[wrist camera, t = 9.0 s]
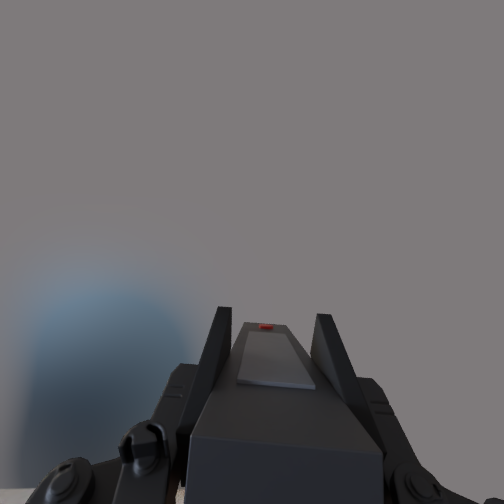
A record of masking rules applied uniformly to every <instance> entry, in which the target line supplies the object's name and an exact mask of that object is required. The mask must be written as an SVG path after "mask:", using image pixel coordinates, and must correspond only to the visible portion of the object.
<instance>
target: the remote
mask: <svg viewBox="0 0 504 504" xmlns="http://www.w3.org/2000/svg"><path fill="white" fill-rule="evenodd" d="M184 504H384V467H383V453H382V451H381V450H380V449H379V447H378V446H377V445H376V443H375V442H374V441H373V439H372V438H371V437H370V435H369V434H368V433H367V432H366V430H365V429H364V428H363V426H362V425H361V424H360V422H359V421H358V420H357V418H356V417H355V416H354V414H353V413H352V412H351V410H350V409H349V408H348V406H347V405H346V404H345V403H344V401H343V400H342V399H341V397H340V396H339V395H338V393H337V392H336V391H335V389H334V388H333V387H332V385H331V384H330V383H329V381H328V380H327V379H326V377H325V376H324V375H323V373H322V372H321V371H320V369H319V368H318V367H317V366H316V364H315V363H314V362H313V360H312V359H311V358H310V356H309V355H308V354H307V352H306V351H305V350H304V348H303V347H302V346H301V344H300V343H299V342H298V340H297V339H296V338H295V336H294V335H293V334H292V333H291V331H290V330H289V329H288V327H287V326H286V325H275V324H262V323H249V322H244V324H243V327H242V328H241V331H240V333H239V335H238V337H237V339H236V341H235V343H234V345H233V347H232V349H231V352H230V354H229V356H228V358H227V360H226V362H225V364H224V366H223V368H222V371H221V373H220V375H219V377H218V379H217V381H216V383H215V385H214V388H213V390H212V392H211V394H210V396H209V398H208V400H207V402H206V404H205V406H204V408H203V411H202V413H201V415H200V417H199V419H198V421H197V423H196V425H195V427H194V430H193V432H192V434H191V436H190V445H189V455H188V465H187V476H186V486H185V496H184Z"/></svg>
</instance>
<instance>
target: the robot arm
mask: <svg viewBox="0 0 504 504" xmlns="http://www.w3.org/2000/svg"><path fill="white" fill-rule="evenodd" d="M231 325H232V308H231V307H219V306H218V308H217V311H216V314H215V317H214V320H213V323H212V326H211V329H210V332H209V335H208V338H207V341H206V344H205V347H204V350H203V353H202V355H201V359H200V361H199V364H198V365H194V364H182V363H181V364H179V366H178V367H177V368H176V369H175V370H174V371H173V372H172V373H171V375H170V377H169V379H168V382H167V384H166V387H165V388H164V390H163V393H162V396H161V397H160V399H159V402H158V404H157V406H156V408H155V411H154V413H153V415H152V417H151V419H150V420H146V421H143V422H140V423H138V424H137V425H135V426H133V427H132V428H130V429H129V431H128V432H127V433H126V434H125V435H124V436H123V438H122V440H121V442H120V444H119V446H118V449H119V453H120V457H118V458H116V459H112V460H109V461H105V462H101V463H98V464H94V465H91V464H90V463H89V461H88V460H86V459H84V458H82V457H78V458H71V459H69V460H66V461H64V462H62V463H60V464H59V465H58V466H56V467H55V468H54V469H52V470H51V471H50V472H49V473H48V474H47V475H46V477H44V479H43V480H42V481H41V482H40V483H39V485H38V486H37V488H36V489H35V490H34V492H33V493H32V495H31V496H30V497H29V499H28V500H27V502H26V503H25V504H176V499H175V496H176V493H177V489H178V485H179V482H180V480H181V487H185V486H186V476H187V465H188V455H189V445H190V436H191V434H192V432H193V430H194V427H195V425H196V423H197V421H198V419H199V417H200V415H201V413H202V411H203V408H204V406H205V404H206V402H207V400H208V398H209V396H210V394H211V392H212V390H213V388H214V385H215V383H216V381H217V379H218V377H219V375H220V373H221V371H222V368H223V366H224V364H225V362H226V360H227V358H228V356H229V354H230V350H231ZM310 354H311V359H312V360H313V362H314V363H315V364H316V366H317V367H318V368H319V369H320V371H321V372H322V373H323V375H324V376H325V377H326V379H327V380H328V381H329V383H330V384H331V385H332V387H333V388H334V389H335V391H336V392H337V393H338V395H339V396H340V397H341V399H342V400H343V401H344V403H345V404H346V405H347V406H348V408H349V409H350V410H351V412H352V413H353V414H354V416H355V417H356V418H357V420H358V421H359V422H360V424H361V425H362V426H363V428H364V429H365V430H366V432H367V433H368V434H369V435H370V437H371V438H372V439H373V441H374V442H375V443H376V445H377V446H378V447H379V449H380V450H381V451H382V453H383V467H384V504H478V503H476V502H474V501H472V500H470V499H467V498H465V497H463V496H460V495H458V494H456V493H454V492H452V491H450V490H448V489H446V488H444V487H443V486H441V485H440V483H439V482H438V481H437V480H436V479H435V477H434V476H433V475H432V474H431V473H429V472H428V471H427V470H426V469H425V468H423V467H422V466H421V464H420V463H419V461H418V459H417V457H416V456H415V453H414V452H413V449H412V447H411V445H410V443H409V441H408V439H407V437H406V435H405V433H404V432H403V430H402V427H401V425H400V423H399V421H398V419H397V418H396V416H395V415H394V411H393V409H392V407H391V406H390V405H389V401H388V399H387V397H386V395H385V393H384V392H383V390H382V388H381V387H380V386H379V385H378V384H377V383H376V382H375V381H374V380H373V379H372V378H362V377H356V374H355V372H354V370H353V367H352V365H351V362H350V360H349V357H348V355H347V352H346V350H345V348H344V345H343V343H342V340H341V338H340V335H339V333H338V330H337V328H336V325H335V323H334V321H333V318H332V316H331V315H330V314H317V316H316V322H315V328H314V334H313V340H312V346H311V352H310ZM484 504H504V500H501V499H498V498H490V499H486V501H485V502H484Z"/></svg>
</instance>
